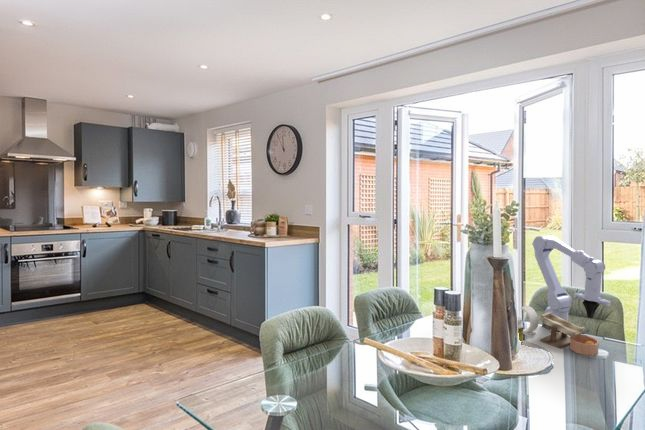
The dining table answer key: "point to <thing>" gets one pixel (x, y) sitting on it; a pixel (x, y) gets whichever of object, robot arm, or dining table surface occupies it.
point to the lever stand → (556, 338)
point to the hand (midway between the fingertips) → (590, 317)
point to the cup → (584, 345)
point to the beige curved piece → (562, 325)
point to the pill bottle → (520, 329)
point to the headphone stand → (531, 320)
